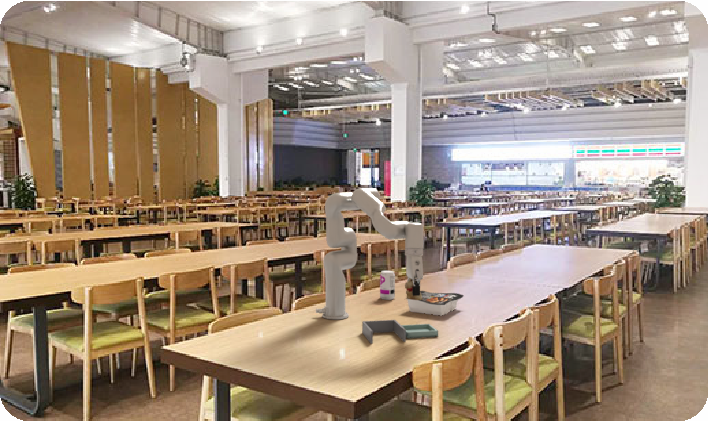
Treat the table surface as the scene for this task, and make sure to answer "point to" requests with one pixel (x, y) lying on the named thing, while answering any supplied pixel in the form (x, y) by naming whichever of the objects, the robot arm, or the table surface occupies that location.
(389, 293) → the supplement can
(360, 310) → the table surface
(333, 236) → the robot arm
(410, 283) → the chocolate bunny
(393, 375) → the table surface
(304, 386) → the table surface
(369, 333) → the bay
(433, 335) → the tray
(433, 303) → the food packaging
